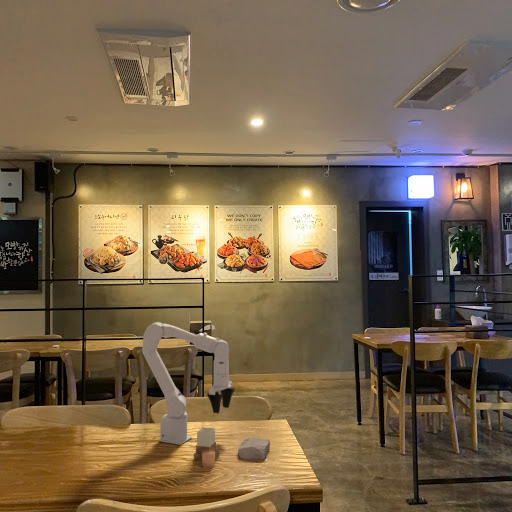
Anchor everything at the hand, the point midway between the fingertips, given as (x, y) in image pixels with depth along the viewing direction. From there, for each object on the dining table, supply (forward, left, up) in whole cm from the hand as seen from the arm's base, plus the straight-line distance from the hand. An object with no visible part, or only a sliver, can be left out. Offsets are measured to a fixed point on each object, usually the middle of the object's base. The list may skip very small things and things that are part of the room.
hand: (221, 410), depth 167 cm
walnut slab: (+4, -18, -11) cm, 22 cm away
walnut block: (+4, -18, -8) cm, 20 cm away
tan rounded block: (+8, -23, -10) cm, 27 cm away
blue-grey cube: (+4, -18, -6) cm, 20 cm away
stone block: (+17, -7, -11) cm, 21 cm away
